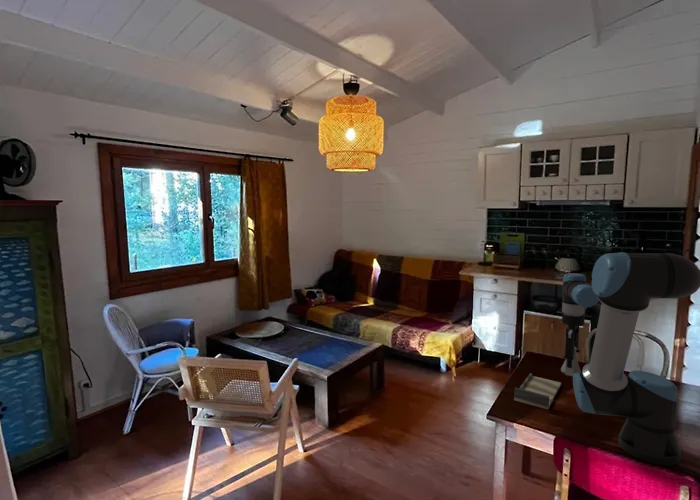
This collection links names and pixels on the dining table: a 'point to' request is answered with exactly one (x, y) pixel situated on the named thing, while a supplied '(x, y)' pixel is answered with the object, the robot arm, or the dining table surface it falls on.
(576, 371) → the flask
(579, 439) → the dining table surface
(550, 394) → the stand board
